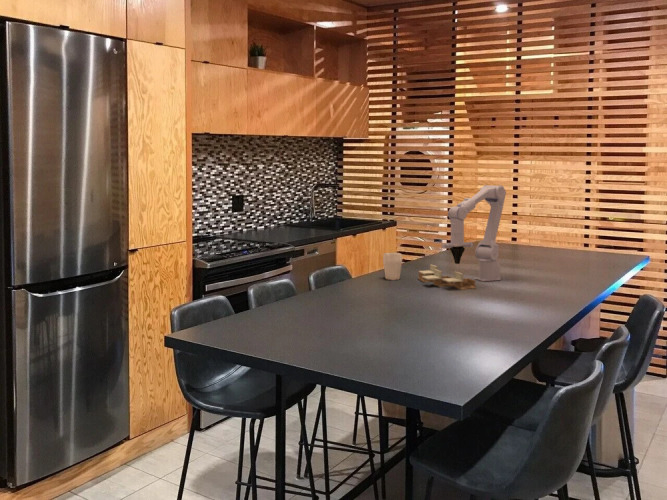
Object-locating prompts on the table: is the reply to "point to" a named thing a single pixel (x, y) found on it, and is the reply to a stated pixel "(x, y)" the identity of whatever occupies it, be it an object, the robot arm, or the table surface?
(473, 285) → the crates
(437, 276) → the lid
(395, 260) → the cup
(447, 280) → the lid
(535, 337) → the table surface
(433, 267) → the lid
